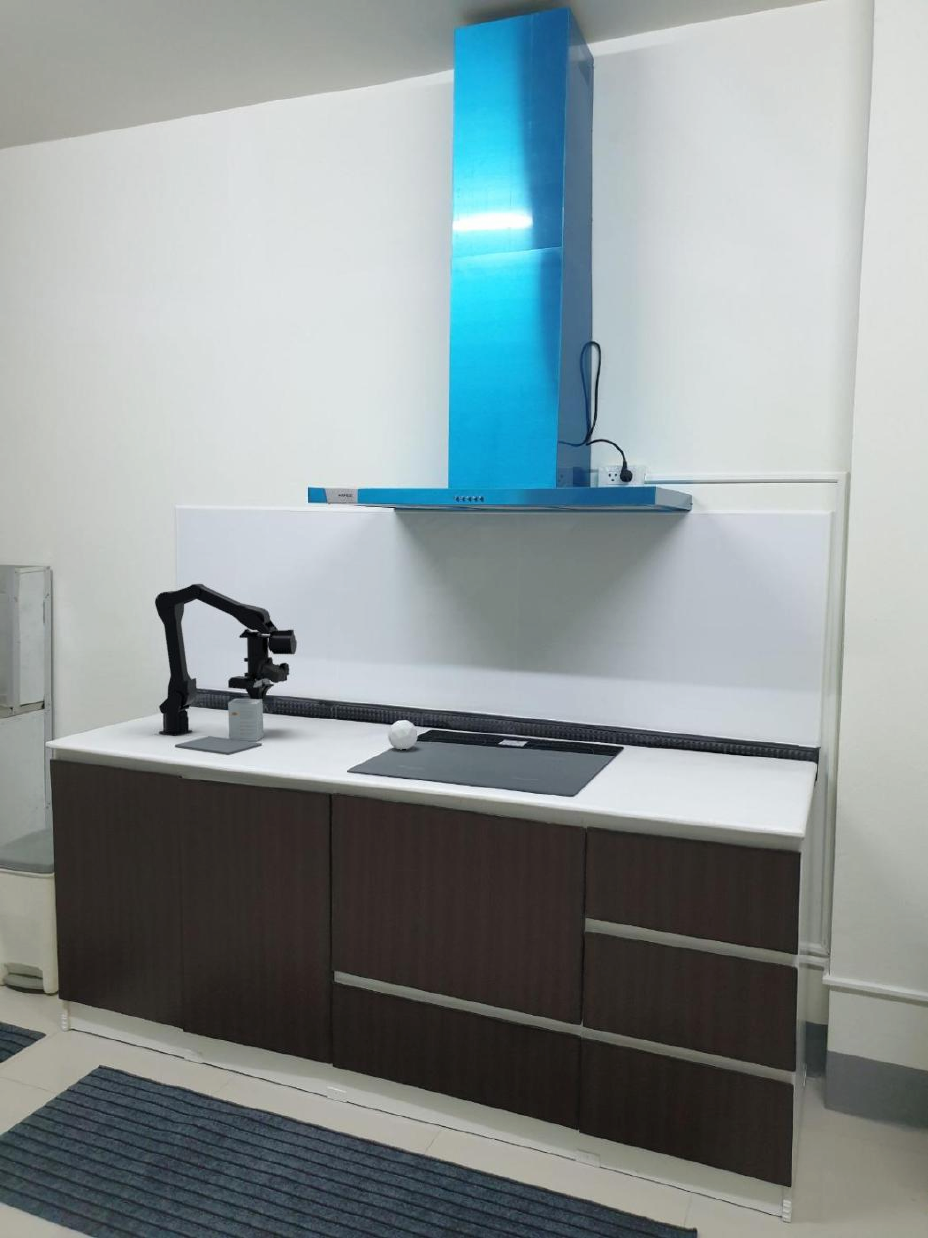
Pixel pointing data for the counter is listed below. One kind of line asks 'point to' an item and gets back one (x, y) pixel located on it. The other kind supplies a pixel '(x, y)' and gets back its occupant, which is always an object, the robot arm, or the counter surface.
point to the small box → (245, 719)
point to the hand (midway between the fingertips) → (258, 710)
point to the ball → (402, 735)
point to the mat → (218, 745)
